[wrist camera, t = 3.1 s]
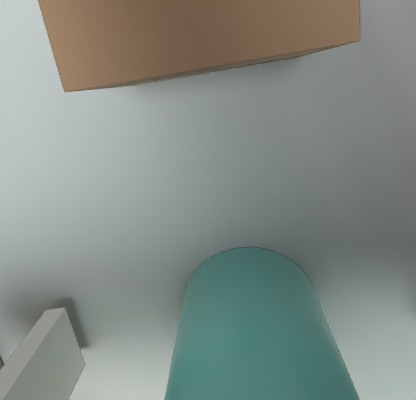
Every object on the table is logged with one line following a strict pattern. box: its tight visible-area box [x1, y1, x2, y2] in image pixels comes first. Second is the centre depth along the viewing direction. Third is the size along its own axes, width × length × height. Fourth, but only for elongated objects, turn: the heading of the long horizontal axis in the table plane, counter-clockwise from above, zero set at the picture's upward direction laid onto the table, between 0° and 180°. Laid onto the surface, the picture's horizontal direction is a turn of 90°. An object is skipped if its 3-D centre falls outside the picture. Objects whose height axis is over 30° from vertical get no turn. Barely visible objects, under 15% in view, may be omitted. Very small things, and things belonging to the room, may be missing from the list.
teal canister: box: [165, 247, 360, 400], centre depth 10 cm, size 5×5×7 cm
